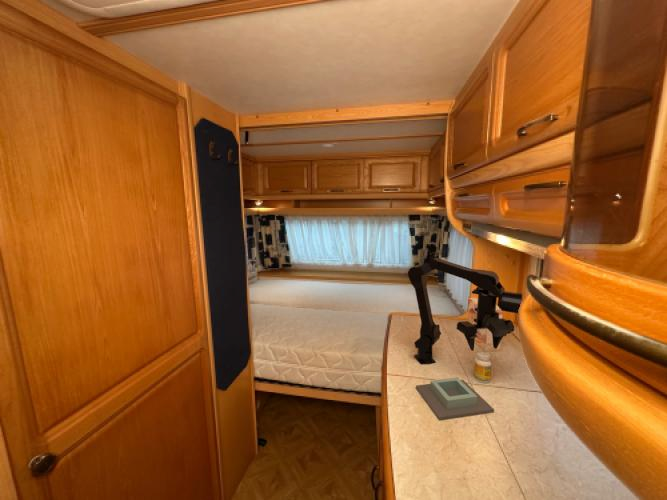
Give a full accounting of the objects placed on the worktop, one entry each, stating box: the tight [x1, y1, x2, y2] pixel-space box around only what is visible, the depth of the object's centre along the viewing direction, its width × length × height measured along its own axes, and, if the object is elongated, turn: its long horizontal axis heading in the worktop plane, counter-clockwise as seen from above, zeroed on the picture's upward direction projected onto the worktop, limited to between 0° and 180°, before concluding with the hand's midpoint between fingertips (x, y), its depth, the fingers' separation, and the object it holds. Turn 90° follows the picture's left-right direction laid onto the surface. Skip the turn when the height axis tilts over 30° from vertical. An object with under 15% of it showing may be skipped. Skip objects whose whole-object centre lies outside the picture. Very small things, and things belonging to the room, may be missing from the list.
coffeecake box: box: [467, 297, 504, 353], centre depth 124 cm, size 15×7×20 cm, turn 4°
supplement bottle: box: [473, 351, 492, 384], centre depth 98 cm, size 5×5×10 cm
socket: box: [415, 377, 495, 421], centre depth 88 cm, size 15×18×4 cm
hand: (483, 349), depth 97 cm, fingers open, 9 cm apart
